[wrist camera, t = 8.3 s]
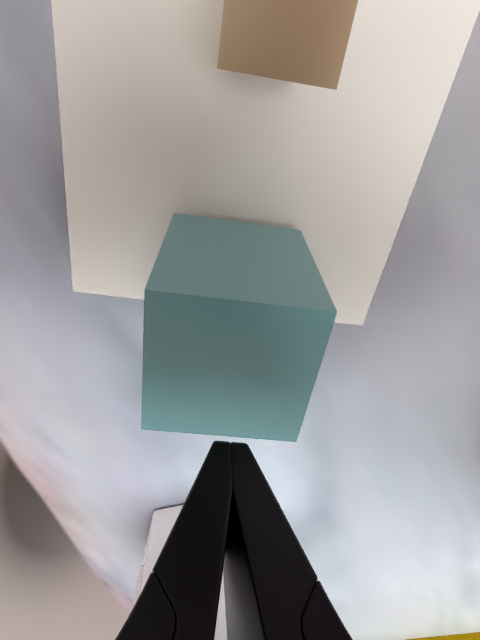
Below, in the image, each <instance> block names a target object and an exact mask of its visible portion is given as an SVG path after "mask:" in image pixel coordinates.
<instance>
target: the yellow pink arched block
mask: <svg viewBox="0 0 480 640" xmlns="http://www.w3.org/2000/svg"><path fill="white" fill-rule="evenodd" d="M408 640H480V632H478V633H468V634H458V635H448V636H438V637H428V638H418V639H408Z"/></svg>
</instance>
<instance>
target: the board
mask: <svg viewBox="0 0 480 640" xmlns="http://www.w3.org/2000/svg"><path fill="white" fill-rule="evenodd" d="M51 6H52V19H53V32H54V46H55V59H56V73H57V86H58V99H59V113H60V126H61V139H62V153H63V166H64V180H65V193H66V206H67V220H68V233H69V246H70V260H71V273H72V287H73V291H74V292H83V293H91V294H99V295H108V296H116V297H125V298H133V299H141V300H144V290H145V287H146V284H147V282H148V279H149V276H150V274H151V271H152V269H153V266H154V263H155V261H156V258H157V256H158V253H159V250H160V248H161V245H162V242H163V240H164V237H165V235H166V232H167V229H168V227H169V224H170V222H171V219H172V216H173V214H174V213H178V214H185V215H193V216H200V217H208V218H215V219H223V220H230V221H237V222H245V223H252V224H260V225H267V226H275V227H282V228H290V229H297V230H301V232H302V234H303V237H304V239H305V241H306V243H307V246H308V248H309V250H310V252H311V255H312V257H313V259H314V261H315V263H316V266H317V268H318V270H319V272H320V275H321V277H322V279H323V281H324V284H325V286H326V288H327V290H328V292H329V295H330V297H331V299H332V301H333V304H334V306H335V308H336V310H337V314H336V317H335V320H334V322H335V323H343V324H351V325H360V326H363V323H364V320H365V318H366V315H367V312H368V310H369V307H370V304H371V301H372V299H373V296H374V293H375V291H376V288H377V285H378V283H379V280H380V277H381V275H382V272H383V269H384V266H385V264H386V261H387V258H388V256H389V253H390V250H391V248H392V245H393V242H394V240H395V237H396V234H397V231H398V229H399V226H400V223H401V221H402V218H403V215H404V213H405V210H406V207H407V205H408V202H409V199H410V196H411V194H412V191H413V188H414V186H415V183H416V180H417V178H418V175H419V172H420V170H421V167H422V164H423V161H424V159H425V156H426V153H427V151H428V148H429V145H430V143H431V140H432V137H433V135H434V132H435V129H436V126H437V124H438V121H439V118H440V116H441V113H442V110H443V108H444V105H445V102H446V100H447V97H448V94H449V91H450V89H451V86H452V83H453V81H454V78H455V75H456V73H457V70H458V67H459V65H460V62H461V59H462V56H463V54H464V51H465V48H466V46H467V43H468V40H469V38H470V35H471V32H472V30H473V27H474V24H475V21H476V19H477V16H478V13H479V11H480V0H358V3H357V8H356V12H355V16H354V20H353V24H352V28H351V32H350V36H349V41H348V45H347V49H346V53H345V57H344V61H343V65H342V69H341V74H340V78H339V82H338V86H337V90H334V89H328V88H323V87H317V86H312V85H306V84H300V83H295V82H289V81H284V80H278V79H273V78H267V77H261V76H256V75H250V74H245V73H239V72H234V71H228V70H222V69H217V65H218V55H219V46H220V36H221V27H222V17H223V7H224V0H51Z"/></svg>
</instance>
